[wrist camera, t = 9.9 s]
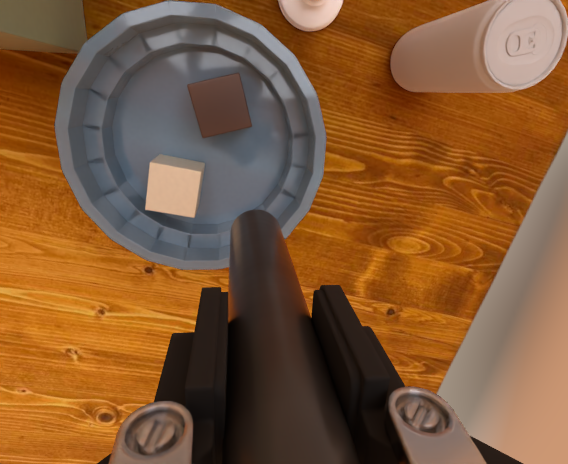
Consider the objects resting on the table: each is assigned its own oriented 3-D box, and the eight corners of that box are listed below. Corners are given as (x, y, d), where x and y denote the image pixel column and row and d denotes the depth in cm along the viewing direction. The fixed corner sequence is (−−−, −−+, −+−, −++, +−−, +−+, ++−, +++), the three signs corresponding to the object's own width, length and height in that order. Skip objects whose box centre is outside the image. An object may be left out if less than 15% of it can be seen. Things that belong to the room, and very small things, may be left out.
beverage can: (445, 86, 30) (566, 82, 19) (389, 98, 30) (480, 101, 19) (443, 21, 29) (576, -24, 17) (384, 34, 28) (481, -5, 17)
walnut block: (192, 85, 27) (186, 84, 24) (238, 74, 28) (239, 72, 24) (206, 133, 29) (202, 138, 25) (250, 122, 29) (252, 126, 26)
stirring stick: (230, 208, 18) (217, 490, 5) (281, 209, 19) (390, 474, 6) (230, 256, 19) (220, 598, 6) (279, 255, 19) (368, 578, 6)
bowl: (71, 9, 25) (30, -12, 20) (318, 28, 28) (337, 13, 23) (103, 242, 32) (78, 271, 26) (303, 242, 34) (315, 268, 29)
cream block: (159, 153, 29) (149, 161, 26) (205, 162, 30) (201, 171, 26) (154, 196, 30) (144, 209, 27) (198, 204, 31) (194, 218, 27)
